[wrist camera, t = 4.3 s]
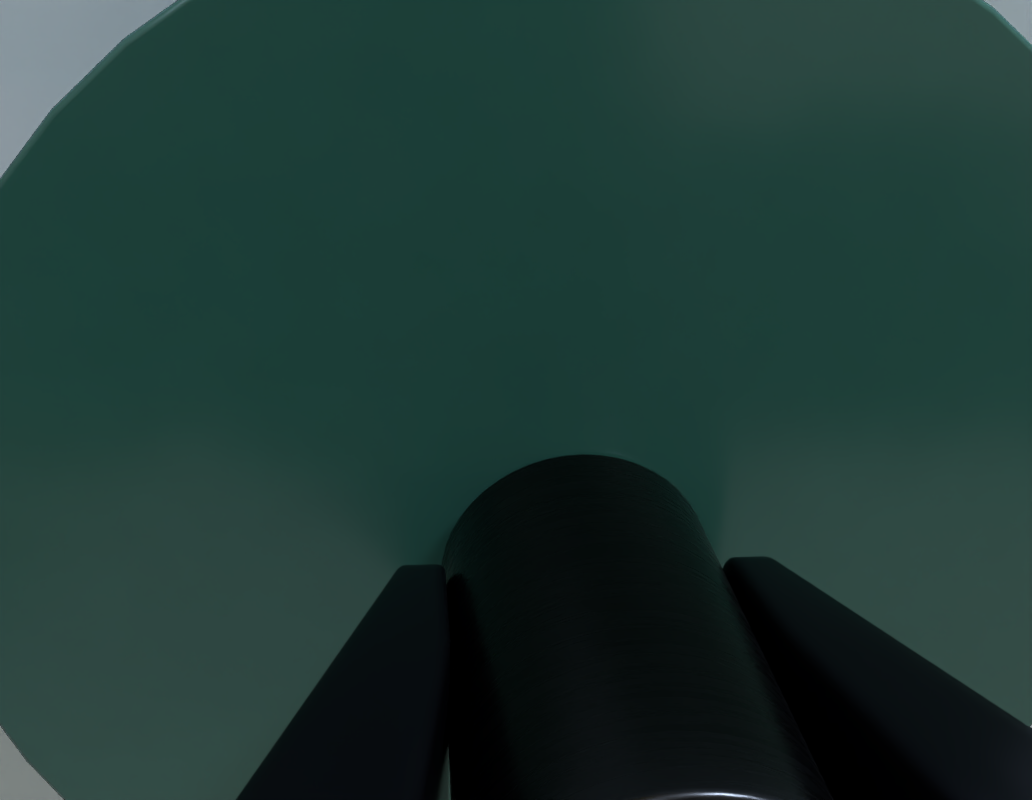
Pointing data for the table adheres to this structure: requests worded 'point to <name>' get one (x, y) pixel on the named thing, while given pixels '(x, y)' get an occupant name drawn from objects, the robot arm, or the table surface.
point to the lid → (511, 376)
